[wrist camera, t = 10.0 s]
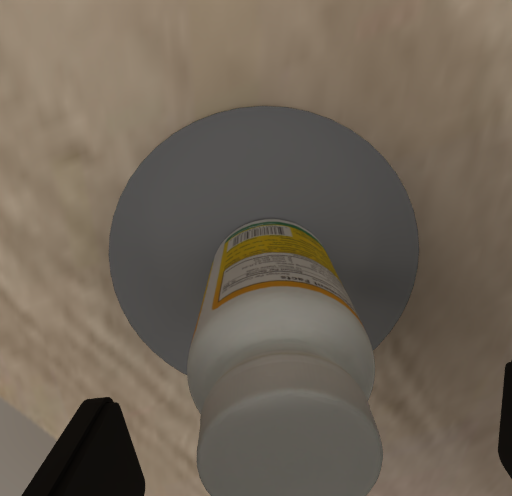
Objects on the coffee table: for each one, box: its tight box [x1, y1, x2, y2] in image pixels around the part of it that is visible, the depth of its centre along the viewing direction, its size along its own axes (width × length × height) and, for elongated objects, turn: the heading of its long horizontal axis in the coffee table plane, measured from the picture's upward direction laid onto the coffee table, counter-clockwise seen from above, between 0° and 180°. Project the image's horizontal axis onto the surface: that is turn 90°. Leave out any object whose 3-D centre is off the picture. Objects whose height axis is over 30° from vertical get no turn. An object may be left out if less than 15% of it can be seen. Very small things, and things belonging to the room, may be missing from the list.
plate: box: [109, 106, 419, 375], centre depth 17 cm, size 14×14×1 cm
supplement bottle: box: [187, 219, 383, 496], centre depth 12 cm, size 5×5×10 cm
